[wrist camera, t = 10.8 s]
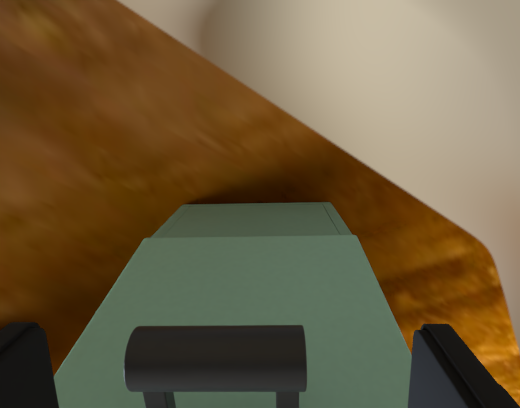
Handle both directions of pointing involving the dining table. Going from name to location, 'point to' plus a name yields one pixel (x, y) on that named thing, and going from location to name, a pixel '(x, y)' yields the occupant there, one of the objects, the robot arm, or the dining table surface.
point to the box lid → (241, 329)
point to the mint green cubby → (254, 220)
